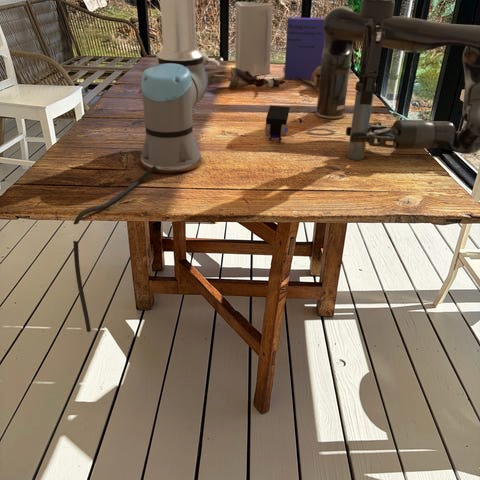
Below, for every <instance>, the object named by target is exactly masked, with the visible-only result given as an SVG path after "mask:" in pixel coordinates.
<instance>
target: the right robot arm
mask: <svg viewBox="0 0 480 480" xmlns="http://www.w3.org/2000/svg"><path fill="white" fill-rule="evenodd" d="M324 18H325V19H324V23H323V28H324V31H325V42H324V48H323V52H322V59H321V70H320V81H319V91H318V92H317V100H316V101H317V102H316V110H315V116H317V117H319V118H322V119H327V120H339V119H343V118H344V117H345V108H346V103H347V102H346V101H347V92H348V85H349V77H350V70H351V69H350V68H351V62H352V61H351V60H352V55H353V50H354V43H355V42H358V43H363V38H364V26H365V25H367V24H368V19H369V18H364V17H361V16H360V12H355V11H354V10H353V9H352V8H351V7H349V6H346V5H338V6H335V7H334V8H332V9H331V10H330V11H328V13H327V14H326V16H325V17H324ZM382 27H384V32H385V36H384V40H383V44H382V48H387V49H391V50H396V51H401V52H407V53H412V54H419V53H425V52H429V51H432V50H434V49H437V48H441V47H445V46H446V47H447V46H461V47H465V48H464V49H463V53H462V66H463V72H464V93H463V101H462V103H463V104H462V113H461V114H462V118H463V120H464V121H465V124H464V125H463V127H462V128H461V130H460V131H456V129H457V128H456V126H455V124H453V122H451V121H443V120H439V121H438V120H425V119H424V120H422V119H397V120H395V121H394V122H393V125H392V126H388V125H387V124H382V122H380V121H377V122H369V128H368V133H366V134H365V133H351V126H347V127H345V128H346V129H345V136H347V137H349V141H351V142H365V143H366V145H367V144H368V146H369V147H376V148H377V147H378V148H387V149H395V150H427V149H444V150H447V151H450V152H454V153H457V154H458V153H459V154H463V155H471V154H475V153H477V152H479V151H480V25H476V24H459V23H458V24H457V23H447V22H440V21H433V20H427V19H422V18H416V17H411V16H400V15H399V16H395V15H393V17H391V18H388V19H386V18H384V19H383V26H382ZM295 80H297V81H300V82H301V83H303V84H305V85H307V86H309V87H311V88H313V89H314V90H316V88H315V87H313V83H310V82H308V80H307V81H306V79H301V78H299V77H296V79H295ZM350 133H351V135H350Z"/></svg>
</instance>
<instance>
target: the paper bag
mask: <svg viewBox="0 0 480 480" xmlns="http://www.w3.org/2000/svg"><path fill="white" fill-rule="evenodd" d="M273 8H274V4H273V3H269V2H267V3H266V2H265V3H264V2H252V1H235V59H234V60H235V62H234V63H235V65H234V66H235V67H234V68H237V69H240V70H242V71H244V72H245V71H249V72H250V73H251V75H252V76H256V77H257V76H259V75H260V76H261V75H266V74H270V73H271V56H272V55H271V54H272V33H273V32H272V31H273V10H274V9H273Z"/></svg>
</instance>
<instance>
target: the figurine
mask: <svg viewBox="0 0 480 480" xmlns="http://www.w3.org/2000/svg"><path fill="white" fill-rule="evenodd" d="M230 69H231V72H230V73H231V74H230V76H229V75H225V74H213V73H211V74H210V78H209V85H212V84H213V83H214V79H215V78H216V79H223V80H227V81H229V84H228V88H229V89H241V88H247V87H249V86H255V87H256V88H262V87H268V88H271V89H273V88H280V86H281V85H284V84H286V83H287V79H275V78H274V77H272V78H265V77H262V78H261V77H257V76H252V75H251V73H250V72H249V71H245V72H244V71H242V70H240V69H237V68H235V67H232V66H231V67H230Z"/></svg>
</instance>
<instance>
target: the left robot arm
mask: <svg viewBox="0 0 480 480" xmlns="http://www.w3.org/2000/svg"><path fill="white" fill-rule="evenodd" d="M395 6H396V1H395V0H361V2H360V10H359V14H360V16H361V17H364V18H369V19H368V24H367V25H365V26H364V38H363V42H362V45H361V51H360V52H361V53H360V58H359V59H360V60H359V64H358V65H359V70H360V71H359V77H358V82H359V81H363V84H362V91H361V98H360V104H368V105H371V102H372V96H373V93H374V92H373V89H374V83H376V78H377V77H378V76H379V68H380V62H381V57H382V49H383V47H382V44H383V40H384V36H385V32H384V27H382V26H383V19H384V18H386V19H388V18H391V17H393V16H394V13H395ZM159 7H160V8H159V9H160V20H161V21H160V22H161V36H162V50H161V51H159V52H160V53H159V52H158V53H159V54H158V65H156V64H155V65H151V66H149V67H147V68H146V69H145V70H143V72H142V74H141V77H140V78H141V79H140V80H141V83H140V91H141V95H142V97H141V98H142V106H143V115H144V125H145V126H144V127H145V138H144V142H143V146H142V150H141V154H140V162H141V166H142V168H144V169H145V170H146V172H144V173H143V174H142V175H141V176H140V177H139V178H137V179H136V180H135V181H134V182H133V183H131V184H130V185H129V186H128V187H126V188H125V189H124V190H122V191H121V192H120V193H119V194H117V195H116V196H114V197H113V198H111V199H110V200H108V201H107V202H104V203H102V204H99V205H96V206H90V207H87V208H85V209H83V210H81V211H80V213H79V214H77V216H76V217H75V219H74V221H73V225H78V224H80V221H81V220H82V218H83V217H84V216H85V215H87V214H90V213H92V212H97V211H101V210H103V209H106V208H108V207H110V206H111V205H113V204H115V203H116V202H117V201H119V200H120V199H121V198H123V197H124V196H125V195H127V194H128V193H130V191H132V190H133V189H135V187H137V186H138V185H139V184H140V183H142V181H144V180H145V179H146V178H147V177H148V176H150V175H151V174H152V173H156V174H163V175H164V174H165V175H169V174H170V175H172V174H173V175H175V174H182V173H187V172H190V171H193V170H195V169H197V168H198V167H199V166H201V163H202V154H201V151H200V149H199V146H198V143H197V141H196V137H195V135H194V130H193V129H194V126H193V108H194V107H195V106H196V105H197V104H198V103H199V102H200V101H201V100H202V99H203V98H204V97H205V94H206V92H207V90H208V89H207V88H208V74H207V71H206V69H205V68H204V65H203V54H204V53H203V52H202V51H200V50H199V49H198V39H197V38H198V37H197V9H196V8H197V7H196V0H159ZM201 52H202V53H201ZM356 92H358V91H356ZM373 97H374V96H373ZM72 242H73V259H74V261H73V262H74V268H75V269H74V271H75V278H76V284H77V289H78V295H79V299H80V305H81V309H82V312H83V318H84V322H85V328H86V329H85V330H86V332H87V333H91V331H92V329H91V322H90V317H89V311H88V307H87V303H86V302H87V301H86V297H85V293H84V287H83V282H82V275H81V267H80V255H79V241H77V240H73V241H72Z"/></svg>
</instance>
